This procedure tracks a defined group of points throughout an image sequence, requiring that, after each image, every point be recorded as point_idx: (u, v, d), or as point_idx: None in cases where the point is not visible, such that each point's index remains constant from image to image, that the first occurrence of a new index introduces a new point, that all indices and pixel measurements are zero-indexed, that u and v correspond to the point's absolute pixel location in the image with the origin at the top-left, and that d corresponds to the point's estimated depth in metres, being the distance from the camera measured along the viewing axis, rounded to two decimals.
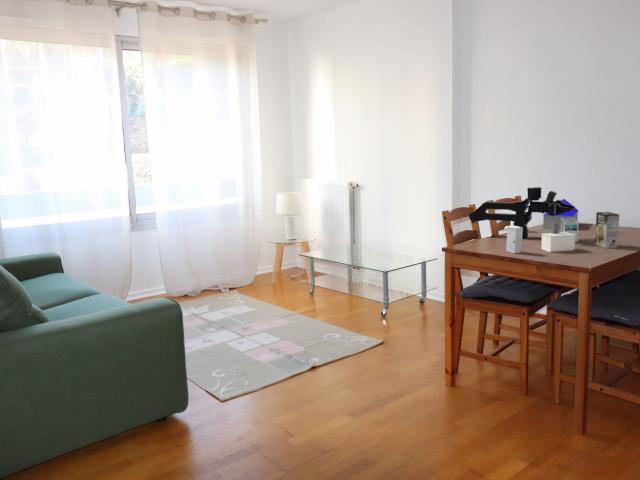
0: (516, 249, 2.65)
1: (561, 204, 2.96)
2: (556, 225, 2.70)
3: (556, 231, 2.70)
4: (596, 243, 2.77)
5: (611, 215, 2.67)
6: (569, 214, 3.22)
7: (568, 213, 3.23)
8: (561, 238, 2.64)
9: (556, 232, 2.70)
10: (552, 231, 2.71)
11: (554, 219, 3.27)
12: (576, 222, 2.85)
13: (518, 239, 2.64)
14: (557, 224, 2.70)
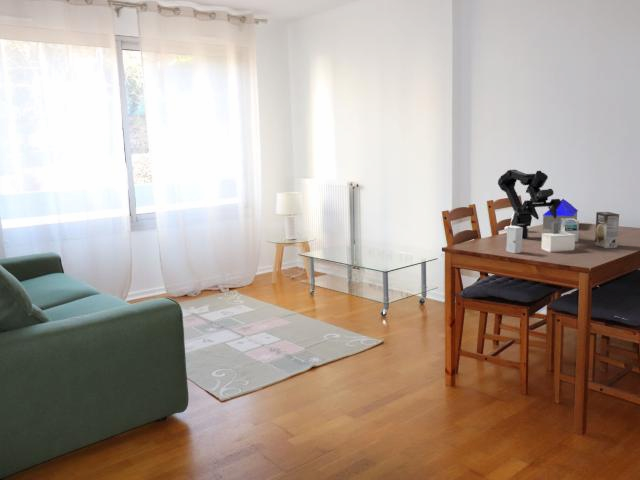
0: (516, 249, 2.65)
1: (552, 206, 2.81)
2: (556, 225, 2.70)
3: (556, 231, 2.70)
4: (596, 243, 2.77)
5: (611, 215, 2.67)
6: (569, 214, 3.22)
7: (568, 213, 3.23)
8: (561, 238, 2.64)
9: (556, 232, 2.70)
10: (552, 231, 2.71)
11: (553, 219, 3.27)
12: (576, 222, 2.85)
13: (518, 239, 2.64)
14: (557, 224, 2.70)
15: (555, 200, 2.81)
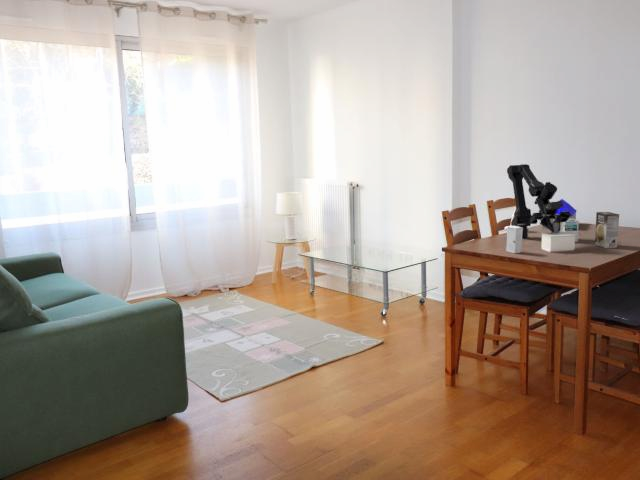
0: (516, 249, 2.65)
1: (556, 219, 2.73)
2: (556, 225, 2.70)
3: (556, 231, 2.70)
4: (596, 243, 2.77)
5: (611, 215, 2.67)
6: None
7: None
8: (561, 238, 2.64)
9: (556, 232, 2.70)
10: None
11: None
12: (576, 222, 2.85)
13: (518, 239, 2.64)
14: (557, 224, 2.70)
15: (565, 212, 2.73)
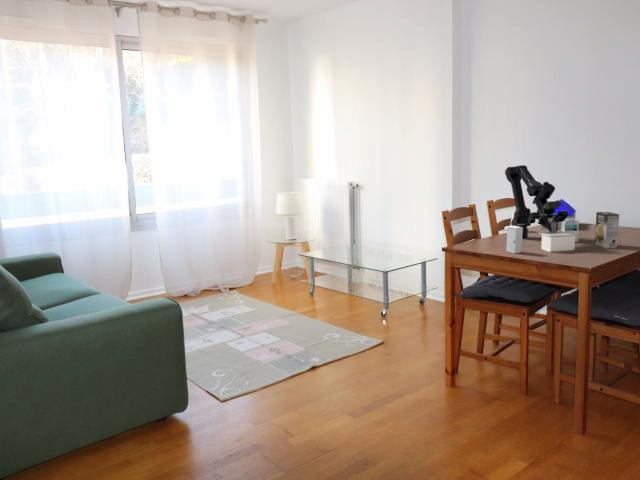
0: (516, 249, 2.65)
1: (554, 218, 2.74)
2: (554, 224, 2.71)
3: (554, 230, 2.72)
4: (596, 243, 2.77)
5: (611, 215, 2.67)
6: None
7: None
8: (561, 238, 2.64)
9: (554, 231, 2.72)
10: None
11: None
12: (576, 222, 2.85)
13: (518, 239, 2.64)
14: (555, 223, 2.71)
15: (562, 212, 2.75)
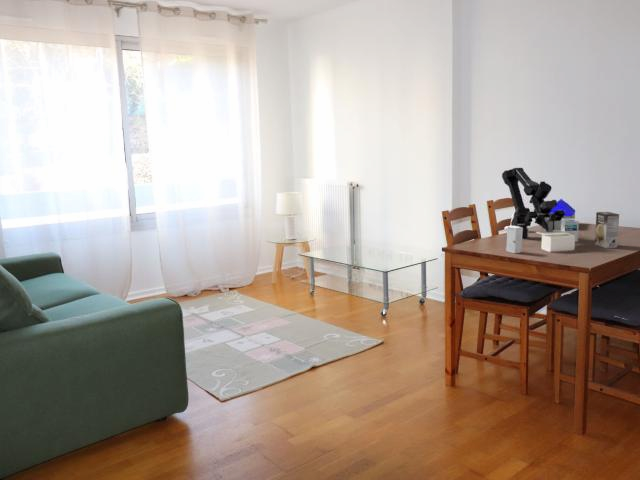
0: (516, 249, 2.65)
1: (550, 217, 2.77)
2: (550, 224, 2.74)
3: (550, 229, 2.75)
4: (596, 243, 2.77)
5: (611, 215, 2.67)
6: (568, 214, 3.22)
7: (567, 213, 3.23)
8: (561, 238, 2.64)
9: (550, 230, 2.75)
10: None
11: None
12: (576, 222, 2.85)
13: (518, 239, 2.64)
14: (551, 223, 2.74)
15: (559, 211, 2.78)
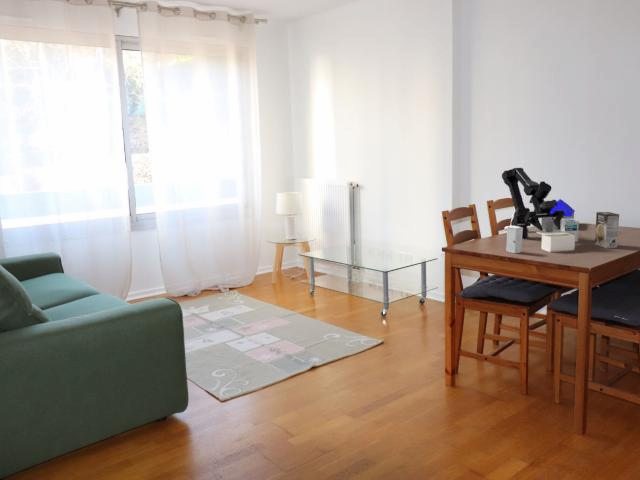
0: (516, 249, 2.65)
1: (556, 217, 2.78)
2: (550, 224, 2.74)
3: (550, 229, 2.75)
4: (596, 243, 2.77)
5: (611, 215, 2.67)
6: (567, 214, 3.22)
7: (566, 213, 3.23)
8: (561, 238, 2.64)
9: (550, 230, 2.75)
10: (546, 229, 2.76)
11: (552, 219, 3.26)
12: (576, 222, 2.85)
13: (518, 239, 2.64)
14: (551, 223, 2.74)
15: (559, 211, 2.78)
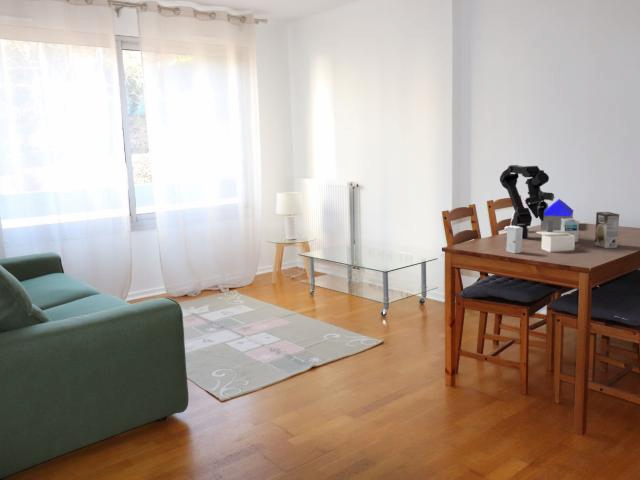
0: (516, 249, 2.65)
1: (542, 208, 2.89)
2: (550, 224, 2.74)
3: (550, 229, 2.75)
4: (596, 243, 2.77)
5: (611, 215, 2.67)
6: (567, 214, 3.22)
7: (566, 213, 3.23)
8: (561, 238, 2.64)
9: (550, 230, 2.75)
10: (546, 229, 2.76)
11: (551, 219, 3.26)
12: (576, 222, 2.85)
13: (518, 239, 2.64)
14: (551, 223, 2.74)
15: (546, 204, 2.89)
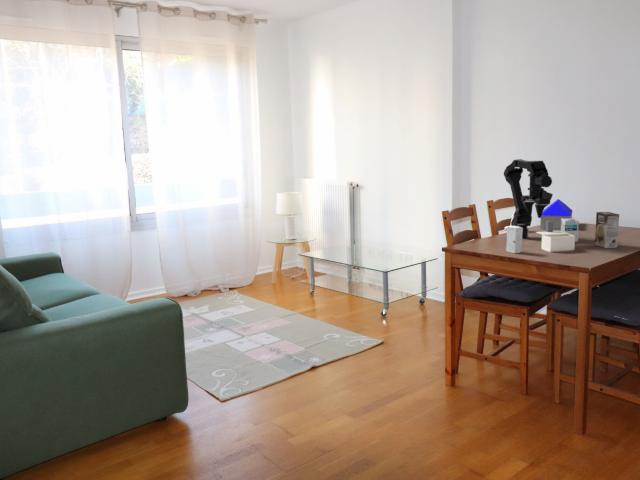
0: (516, 249, 2.65)
1: (532, 203, 2.93)
2: (550, 224, 2.74)
3: (550, 229, 2.75)
4: (596, 243, 2.77)
5: (611, 215, 2.67)
6: (566, 214, 3.22)
7: (565, 213, 3.23)
8: (561, 238, 2.64)
9: (550, 230, 2.75)
10: (546, 229, 2.76)
11: (551, 219, 3.26)
12: (576, 222, 2.85)
13: (518, 239, 2.64)
14: (551, 223, 2.74)
15: None
